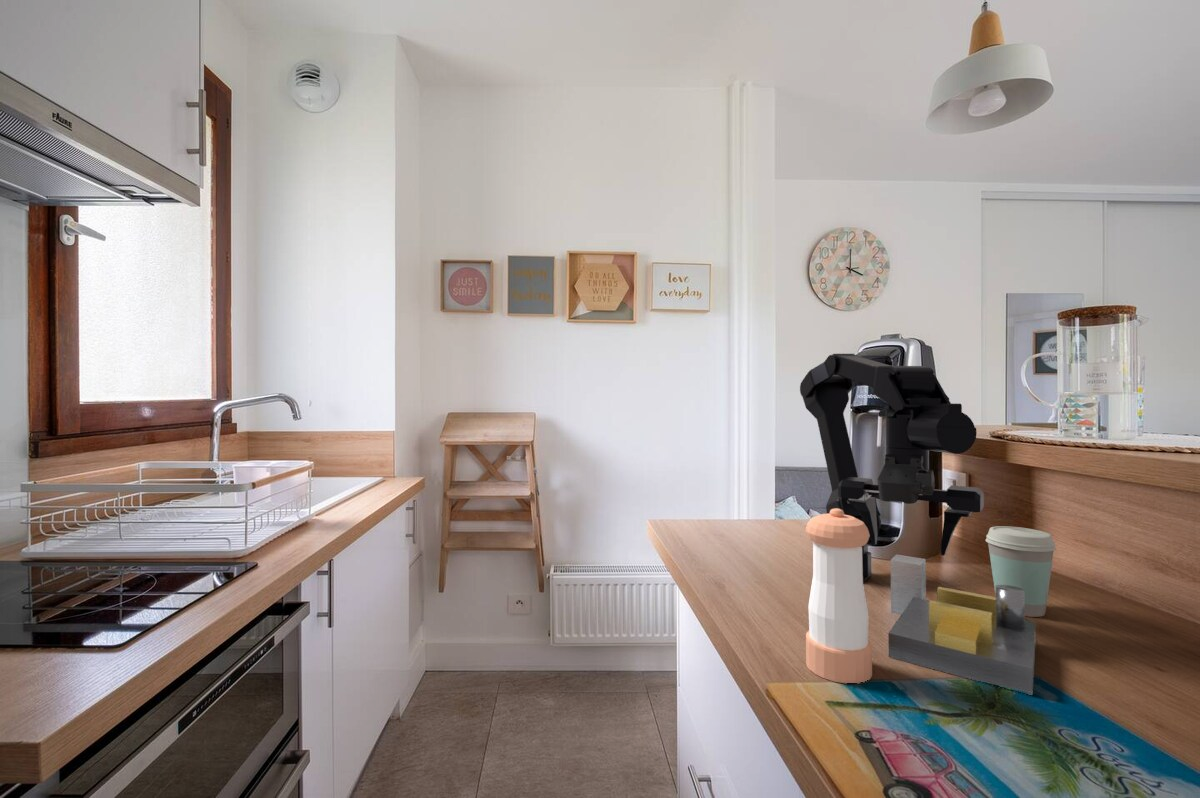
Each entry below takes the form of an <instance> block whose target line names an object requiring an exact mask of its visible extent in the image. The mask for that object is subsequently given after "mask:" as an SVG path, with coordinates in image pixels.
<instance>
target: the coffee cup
mask: <svg viewBox="0 0 1200 798" xmlns="http://www.w3.org/2000/svg"><path fill="white" fill-rule="evenodd" d="M985 537H986V539H985V542H986V543H987V544H988V551H989V557H990V558H989V559H990V565H991V573H992V574H991V575H992V580H993V587H994V589H995V586H996V585H1010V586H1015V587H1018V588H1021V589H1023V590H1024V605H1025V617H1030V618H1032V617H1033V618H1037V617H1043V616H1045V615H1046V609H1047V604H1048V603H1047V602H1048V596H1049V595H1048V594H1049V589H1050V580H1051V573H1052V565H1053V559H1054V551H1056V550H1057V547H1056V543H1055V542H1054V540H1053V537H1052V535H1051V534H1050V533H1049V532H1046V531H1042V530H1039V529H1038V530H1037V529H1033V528H1026V527H1019V526H1005V525H1003V526H999V525H996V526H992V527H990V528H989V529H988V533H987V534H986V536H985ZM994 594H995V595H996V591H995V590H994Z"/></svg>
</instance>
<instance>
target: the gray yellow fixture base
mask: <svg viewBox="0 0 1200 798" xmlns="http://www.w3.org/2000/svg"><path fill="white" fill-rule="evenodd" d="M936 590H937V592H936V593H937V601H936V600H930V599H926V600H924V599H919V598H914V597H913V599H912V600H911V601H910V603H909V604H908V606H907V607H906V609H905V610H904V611H903V613H902V614H901V615H900V616H899V617H898V619H897V620H896V622H895V623H894V625H893V626H892V627H891V629H890V630H889V632H888V637H887V638H888V657H889V658H891V659H894V660H899V661H902V662H907V663H909V664H913V665H916V666H921V667H924V668H927V669H932V670H934V669H935V670H934V671H939V672H942V671H943V672H942V673H947V674H949V673H950V674H949V675H953V676H956V677H960V676H961V677H960V678H965V679H967V678H968V679H967V680H971V679H972V681H974V680H977V681H976V682H978V681H981V682H980V683H982V682H987V683H992V684H996V685H999V686H1004V687H1008V688H1012V689H1015V690H1019V691H1023V692H1025V693H1027V694H1029V695H1033V693H1034V692H1033V690H1034V679H1033V678H1034V677H1035V659H1036V622H1035V621H1032V620H1028V619H1025V618H1026V616H1025V605H1024V590H1023V589H1021V588H1018V587H1015V586H1010V585H996V586H995V588H994V592H995V591H996V594H995V596H990V595H985V594H979V593H976V592H971V591H970V592H969V591H965V590H958V589H953V588H950V587H949V588H947V587H944V586H943V587H942V586H938V587H937V589H936ZM1029 695H1028V696H1029Z"/></svg>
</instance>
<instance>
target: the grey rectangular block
mask: <svg viewBox="0 0 1200 798" xmlns="http://www.w3.org/2000/svg"><path fill="white" fill-rule="evenodd" d="M926 565H927V564H926V558H921V557H916V556H915V557H914V556H909V555H902V554H895V555H894V556H893V557H892V558H891V559H890V612H891V614H894V615H895V614H896V615H900V616H901V614H902V613H903V611H904V610H905V609H906V607H907V606H908V604H909V603H910V601H911V600H912V599H913V597H914V598H919V599H924V600H927V587H926V586H927V575H926V573H927V572H926V571H927V570H926V568H927V567H926Z"/></svg>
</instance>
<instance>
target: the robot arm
mask: <svg viewBox="0 0 1200 798" xmlns="http://www.w3.org/2000/svg"><path fill="white" fill-rule="evenodd" d="M934 373H935V370H933V369H932V367H930V366H927V365H890V364H887V363H883V362H880V361H876V360H872V359H870V358H865V357H862V356H859V355H857V354H855V353H831V354H829V355H828V356H827V357H826V359H825V360H824V361H823V362H822V363H820V364H818V365H817V366H815V367H813V368H811V369H809V371H808V372H807V373H806V374H805V376H804V378H803V379H802V380H801V382H800V385H799V392H800V396H801V397H802V400H803V403H804V406H805V409H806V410H807V411H808V412H809V413H810V414H811V415H812V416H813V417H814V418H815V419H816V421H817V425H818V430H819V436H820V440H821V445H822V450H823V453H824V459H825V464H826V468H827V469H826V470H827V472H828V473H827V474H828V478H829V483H830V487H831V493H830V495H829V498H828V499H827V502H826V505H825V507H826V508H825V509H826V514H830V510H831V509H834V508H837V509H841V510H843V512H844V515H849V516H853V517H855V518H857V519H858V520H860V521H862V522H864V524H865V525H866V527H867V528H868V531H869V535H870V537H869V540H868V542H867V544H866V545H864V546H862V568H863V583H864V582H865V581H866V580H867V579H868V578H869V577H871V576H872V552H870V551H869V545H873V546H876V545H877V543H878V539H879V535H880V531H881V526H882V520H881V516H882V515H881V513H880V510H879V508H878V503H877V497H879V500H880V501H882V502H888V503H889V502H891V501H892V502H899V503H900V502H901V503H904V504H906V505H909V504H910V505H912V504H916V503H917V502H918V501H925V502H935V503H943V504H946V505H947V506H948V507H947V508H946V509H945V510H944V511H943V527H942V531H941V532H942V533H941V540H940V541H941V542H940V555H941V556H945V555H946V553H947V550H948V547H949V546H950V543H951V539H952V537H953V536H954V533H955V530H956V527H957V525H958V524H959V522H960V520H961V519H962V518H970V516H972V513H981V512H982V510H983V509H984V507H985V499H984V497H985V496H984V491H983V490H982V489H981V488H979V487H976V486H975V487H973V486H964V485H963V486H962V485H954V484H953V485H950V486H949V487H948V488H947V489H946V490H945V489H935V487H936V482H935V480H936V479H935V475H934V470H933V469H930V451H931V452H937V453H940V452H941V453H946V454H947V453H948V454H954V455H956V454H964V453H965V452H967V451H968V450H970V448H972V446H973V445H974V444H975V442H976V438H977V433H978V432H977V427H975V424H974V422H973V420H972V418H971V417H969V415H968V414H966V413H964V412H962V411H963V407H962V404H961V403H951V401H950V397H949V396H948V395H947V394H946V392H945V390H944V388H943V387H942V385H941V383H940V381H939V380H938V378H937V377H936V375H935V374H934ZM855 383H859V384H862V385H864V386H867V387H869V388H871V389H872V394H873V395H874V396H875V397H877V398H878V399H880V400H881V401H883V402H884V403H886V405H885V406H884V407H883V408H882V409H880V410H879V412H878V413H877V416H878V417H879V418H885V456H884V464H883V468H882V469H881V472H880V473H879V475H878V477H877V483H874V481H873V478H869V477H867V478H865V477H859V474H858V471H857V467H856V466H857V465H856V462H855V461H856V460H855V457H854V454H853V449H852V445H851V439H850V436H849V431H848V428H847V424H846V419H845V415H844V414H845V410H846V407H847V405H848V403H849V401H850V397H849V396H850V395H849V393H850V392H851V391H852V390H853V389H854V388H855V386H856V384H855Z"/></svg>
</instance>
